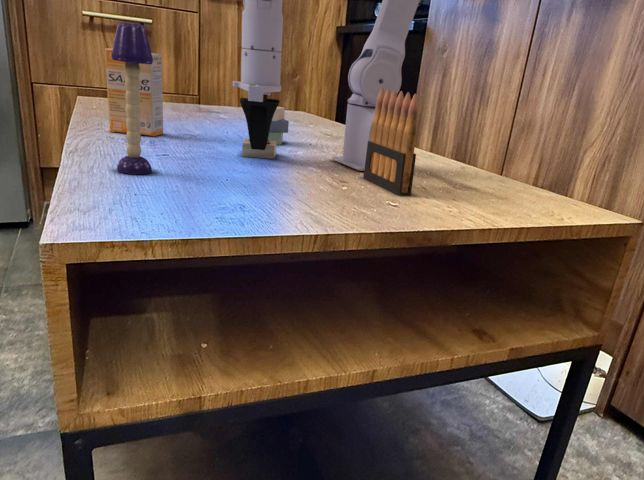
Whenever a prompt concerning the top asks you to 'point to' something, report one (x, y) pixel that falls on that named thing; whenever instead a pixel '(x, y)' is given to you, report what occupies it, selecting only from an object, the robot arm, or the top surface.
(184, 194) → the top surface
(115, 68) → the supplement box
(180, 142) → the top surface
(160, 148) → the top surface
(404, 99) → the ammunition clip
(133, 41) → the toy lamp
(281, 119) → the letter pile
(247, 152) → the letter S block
